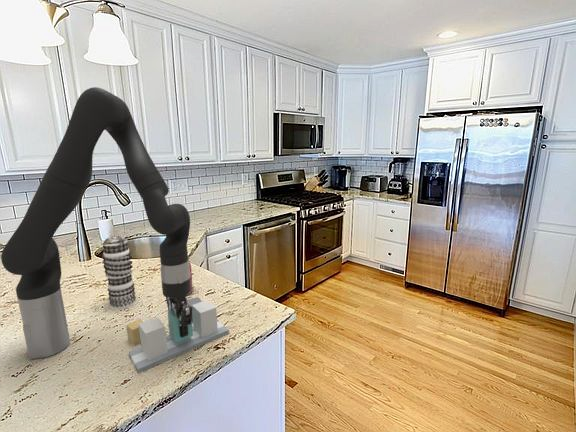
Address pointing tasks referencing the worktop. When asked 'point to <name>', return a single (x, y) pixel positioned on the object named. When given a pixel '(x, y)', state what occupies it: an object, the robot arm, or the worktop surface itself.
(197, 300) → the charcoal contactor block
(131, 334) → the ochre block
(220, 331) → the rail plate
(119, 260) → the black and white cylinder
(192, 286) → the soda can
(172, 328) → the block
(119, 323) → the worktop surface
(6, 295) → the worktop surface
